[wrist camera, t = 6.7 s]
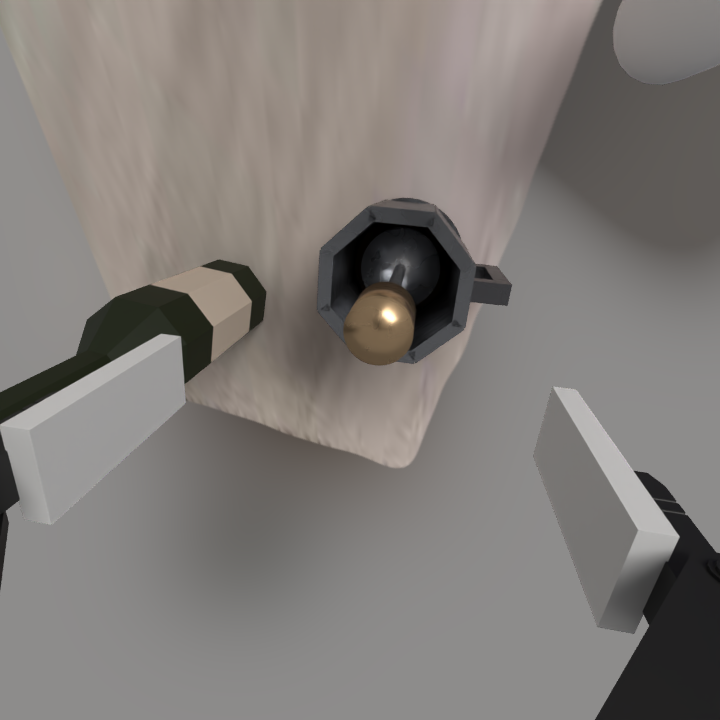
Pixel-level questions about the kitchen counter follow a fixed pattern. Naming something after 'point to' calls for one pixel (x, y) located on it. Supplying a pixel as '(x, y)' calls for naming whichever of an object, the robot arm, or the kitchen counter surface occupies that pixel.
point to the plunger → (391, 295)
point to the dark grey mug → (451, 294)
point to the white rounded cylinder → (667, 38)
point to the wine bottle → (158, 326)
